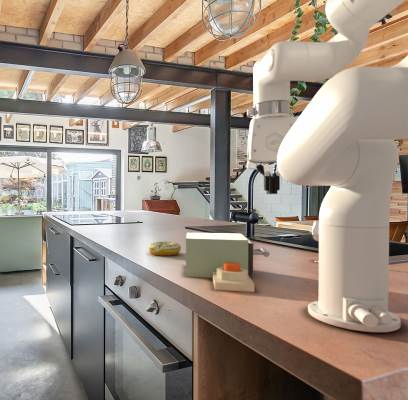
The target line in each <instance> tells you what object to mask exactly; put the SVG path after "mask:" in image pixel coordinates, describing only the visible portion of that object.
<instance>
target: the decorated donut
mask: <svg viewBox="0 0 408 400" xmlns="http://www.w3.org/2000/svg"><path fill="white" fill-rule="evenodd" d="M181 250H182V247H181V244H180V243H177V242H173V241H165V240H163V241H154V242H152V243H150V244H149V245H148V251H149V253H150V254H151V255H152V256H164V257H167V256H169V257H170V256H175V255H178V254H179V253H180V252H181Z"/></svg>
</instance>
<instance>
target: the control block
mask: <svg viewBox="0 0 408 400" xmlns="http://www.w3.org/2000/svg"><path fill="white" fill-rule="evenodd" d="M211 279H212V283H213V287H214V290H216V291H233V292H249V293H250V292H251V293H254V292H255V282H254V281H253V280H252V278H251V277H250V275H248V271H247V270H246V269H243V268H240V272H229V271H224V267H219V268H217V272H212V278H211Z"/></svg>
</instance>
